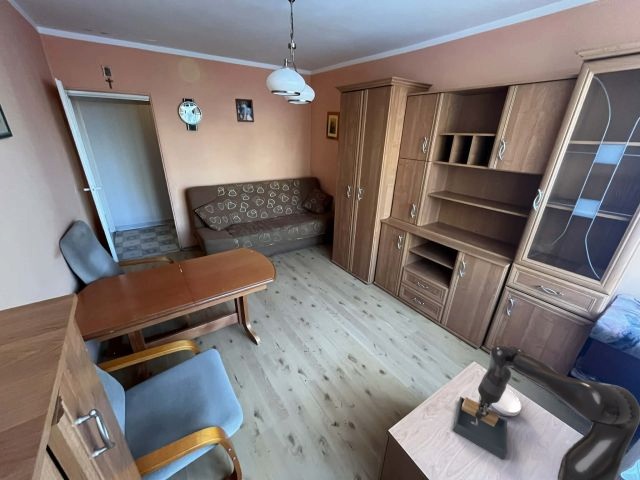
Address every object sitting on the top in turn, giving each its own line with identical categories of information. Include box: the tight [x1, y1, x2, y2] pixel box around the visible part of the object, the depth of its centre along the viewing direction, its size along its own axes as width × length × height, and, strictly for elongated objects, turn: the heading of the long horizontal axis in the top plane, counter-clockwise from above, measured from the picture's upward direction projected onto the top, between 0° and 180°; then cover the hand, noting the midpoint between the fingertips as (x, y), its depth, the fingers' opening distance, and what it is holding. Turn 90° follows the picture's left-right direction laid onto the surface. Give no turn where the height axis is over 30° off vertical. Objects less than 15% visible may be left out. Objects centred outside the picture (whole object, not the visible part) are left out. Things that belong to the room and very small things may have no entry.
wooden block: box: [462, 396, 499, 427], centre depth 108 cm, size 7×12×5 cm, turn 56°
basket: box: [452, 396, 508, 460], centre depth 121 cm, size 16×20×6 cm
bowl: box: [490, 387, 522, 417], centre depth 130 cm, size 14×14×8 cm
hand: (478, 413), depth 110 cm, fingers closed on wooden block, 3 cm apart
